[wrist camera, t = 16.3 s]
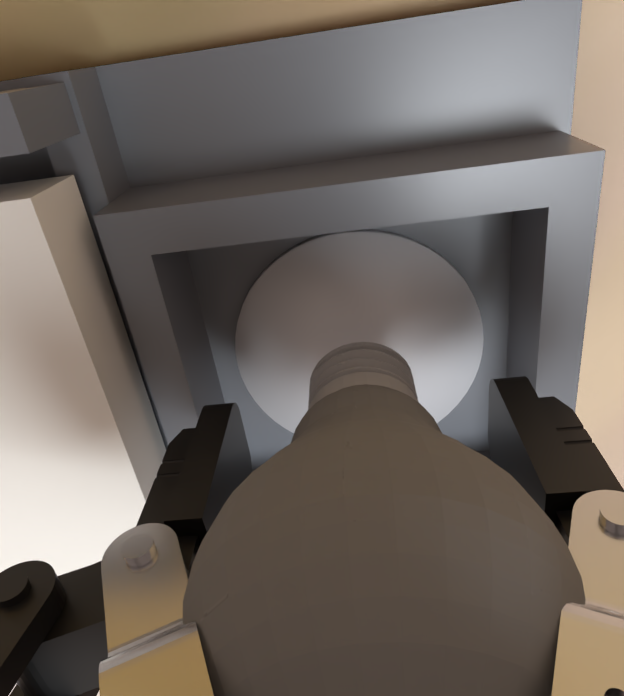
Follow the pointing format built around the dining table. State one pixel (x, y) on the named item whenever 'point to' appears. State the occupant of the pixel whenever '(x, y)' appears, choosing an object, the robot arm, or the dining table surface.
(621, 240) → the dining table surface
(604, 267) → the dining table surface
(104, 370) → the lid
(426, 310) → the housing
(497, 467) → the light bulb
